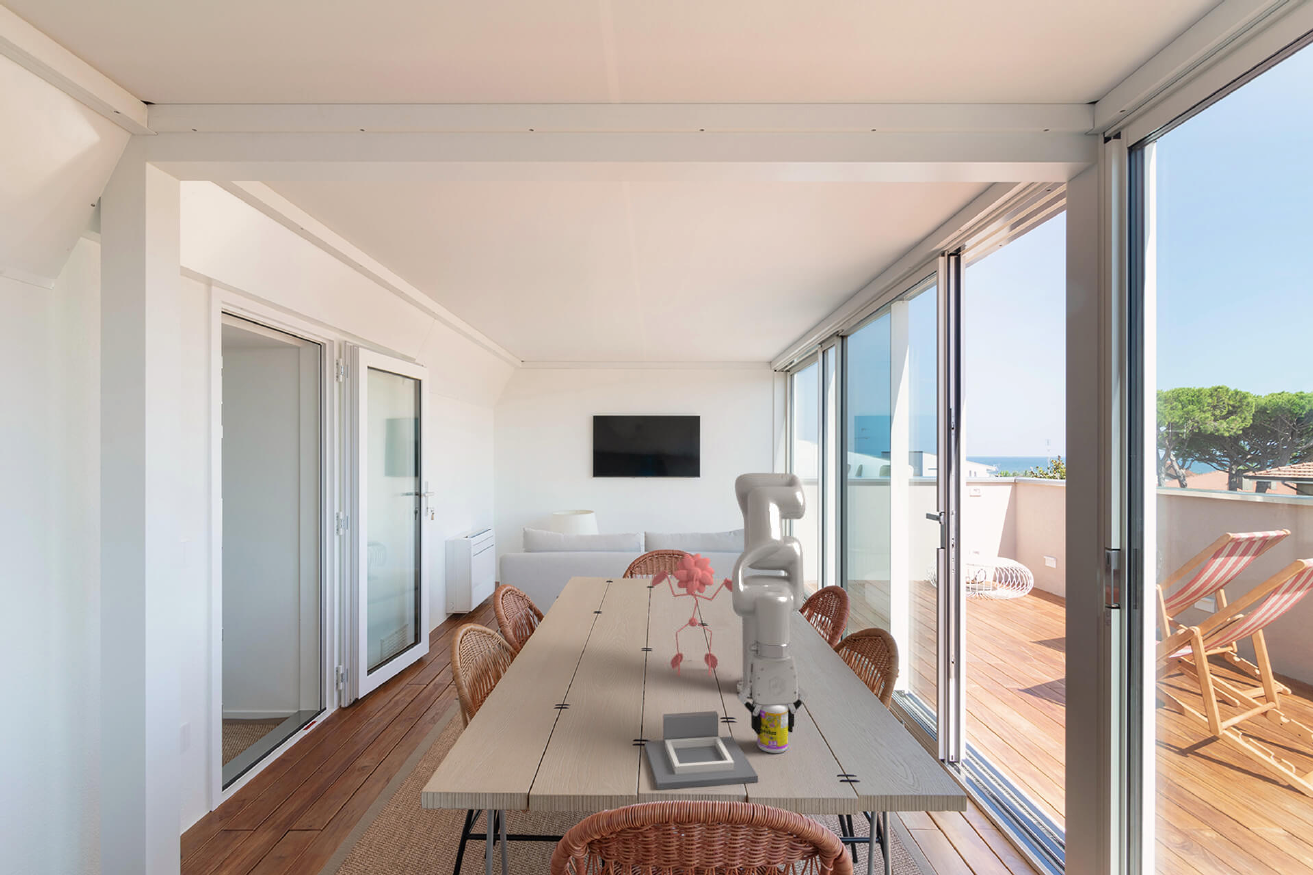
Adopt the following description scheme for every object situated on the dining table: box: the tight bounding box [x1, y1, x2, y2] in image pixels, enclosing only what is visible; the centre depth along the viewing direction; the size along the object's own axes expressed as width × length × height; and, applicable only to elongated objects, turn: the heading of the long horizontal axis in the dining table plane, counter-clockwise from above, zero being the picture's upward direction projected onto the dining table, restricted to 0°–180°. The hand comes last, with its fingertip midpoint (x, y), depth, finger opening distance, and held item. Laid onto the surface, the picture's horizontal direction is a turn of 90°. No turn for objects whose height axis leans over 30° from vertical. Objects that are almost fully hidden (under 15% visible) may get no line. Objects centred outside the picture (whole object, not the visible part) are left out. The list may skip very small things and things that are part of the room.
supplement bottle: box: [756, 704, 789, 754], centre depth 138 cm, size 7×7×13 cm
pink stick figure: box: [651, 553, 732, 677], centre depth 192 cm, size 15×26×35 cm, turn 89°
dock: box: [644, 710, 759, 791], centre depth 131 cm, size 18×20×7 cm
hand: (772, 730), depth 138 cm, fingers closed on supplement bottle, 6 cm apart
